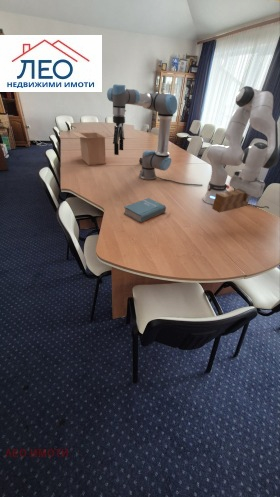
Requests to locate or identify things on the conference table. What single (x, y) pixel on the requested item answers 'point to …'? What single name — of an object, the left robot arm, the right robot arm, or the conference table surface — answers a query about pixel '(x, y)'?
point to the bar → (229, 200)
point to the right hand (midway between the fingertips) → (241, 199)
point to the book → (144, 209)
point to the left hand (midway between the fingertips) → (118, 152)
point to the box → (92, 146)
